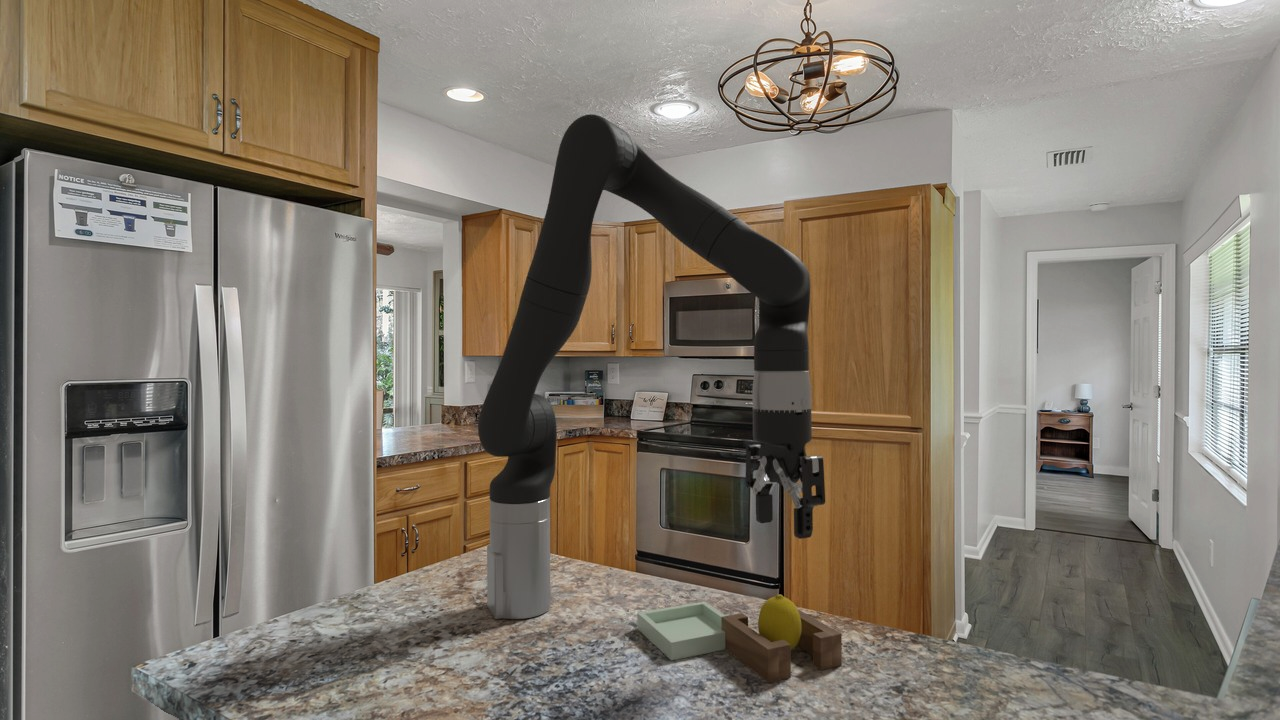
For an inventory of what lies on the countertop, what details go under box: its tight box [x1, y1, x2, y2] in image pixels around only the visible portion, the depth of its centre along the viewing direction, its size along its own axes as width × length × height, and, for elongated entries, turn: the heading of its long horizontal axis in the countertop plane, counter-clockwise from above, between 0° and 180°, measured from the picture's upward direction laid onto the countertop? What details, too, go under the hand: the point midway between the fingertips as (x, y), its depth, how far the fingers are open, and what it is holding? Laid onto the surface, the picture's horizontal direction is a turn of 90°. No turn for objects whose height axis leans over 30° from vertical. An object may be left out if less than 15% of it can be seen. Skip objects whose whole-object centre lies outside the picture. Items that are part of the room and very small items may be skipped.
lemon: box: [757, 594, 802, 651], centre depth 88 cm, size 6×6×8 cm
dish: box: [636, 601, 727, 661], centre depth 94 cm, size 11×11×2 cm
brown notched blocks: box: [721, 609, 843, 683], centre depth 88 cm, size 11×11×4 cm
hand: (783, 529), depth 88 cm, fingers open, 8 cm apart
